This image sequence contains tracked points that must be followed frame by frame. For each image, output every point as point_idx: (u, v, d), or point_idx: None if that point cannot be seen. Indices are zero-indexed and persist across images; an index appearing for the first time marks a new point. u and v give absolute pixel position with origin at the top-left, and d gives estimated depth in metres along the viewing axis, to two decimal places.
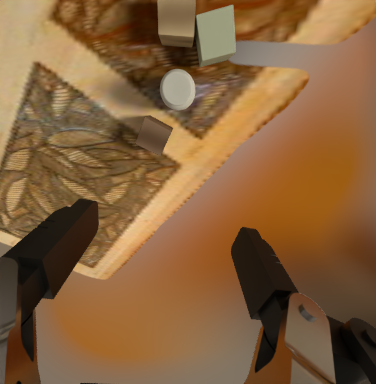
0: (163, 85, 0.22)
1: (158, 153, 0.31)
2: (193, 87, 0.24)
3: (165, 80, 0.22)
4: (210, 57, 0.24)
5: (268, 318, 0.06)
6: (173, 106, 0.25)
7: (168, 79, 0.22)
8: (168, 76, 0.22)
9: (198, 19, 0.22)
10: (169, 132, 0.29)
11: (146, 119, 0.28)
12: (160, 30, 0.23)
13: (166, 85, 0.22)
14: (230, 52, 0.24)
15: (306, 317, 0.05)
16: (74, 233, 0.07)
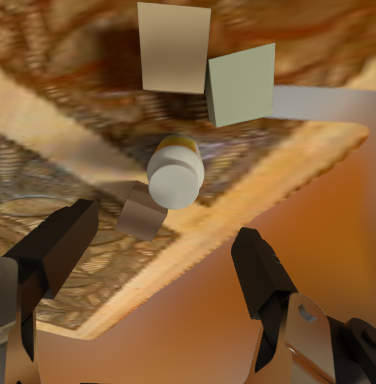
0: (150, 184, 0.13)
1: (148, 239, 0.22)
2: (201, 173, 0.15)
3: (153, 177, 0.12)
4: (229, 122, 0.15)
5: (268, 318, 0.06)
6: None
7: (159, 176, 0.12)
8: (158, 172, 0.12)
9: (212, 66, 0.13)
10: (164, 216, 0.20)
11: (129, 201, 0.19)
12: (146, 83, 0.13)
13: (155, 184, 0.13)
14: (263, 115, 0.15)
15: (306, 317, 0.05)
16: (74, 233, 0.07)
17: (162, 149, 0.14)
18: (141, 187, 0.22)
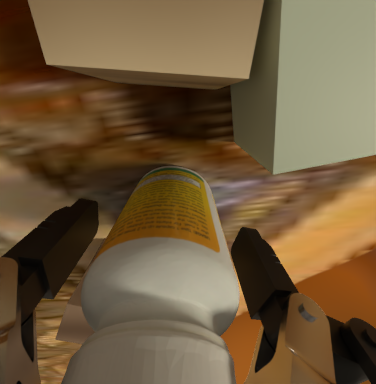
0: None
1: None
2: (235, 309, 0.05)
3: None
4: (311, 163, 0.05)
5: (267, 318, 0.06)
6: None
7: None
8: None
9: None
10: None
11: (73, 306, 0.09)
12: (53, 42, 0.04)
13: None
14: None
15: (306, 317, 0.05)
16: (73, 233, 0.07)
17: (117, 254, 0.05)
18: None
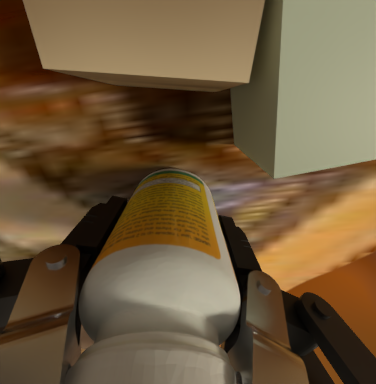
0: None
1: None
2: (236, 317, 0.05)
3: None
4: (312, 167, 0.05)
5: None
6: None
7: None
8: None
9: None
10: None
11: None
12: (50, 46, 0.04)
13: None
14: None
15: (260, 290, 0.06)
16: (112, 226, 0.07)
17: (116, 262, 0.04)
18: None
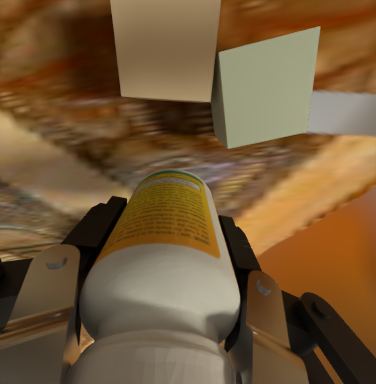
0: None
1: None
2: (235, 316, 0.05)
3: None
4: (246, 142, 0.11)
5: None
6: None
7: None
8: None
9: (224, 62, 0.09)
10: None
11: None
12: (126, 87, 0.09)
13: None
14: (294, 132, 0.10)
15: (260, 290, 0.06)
16: (112, 226, 0.07)
17: (116, 261, 0.04)
18: None
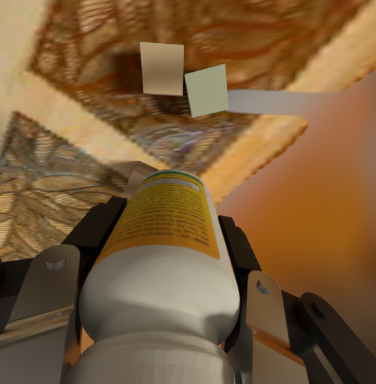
0: None
1: None
2: (235, 317, 0.05)
3: None
4: (201, 114, 0.23)
5: None
6: None
7: None
8: None
9: (187, 78, 0.21)
10: None
11: (134, 172, 0.26)
12: (145, 89, 0.21)
13: None
14: (222, 109, 0.22)
15: (260, 290, 0.06)
16: (112, 226, 0.07)
17: (116, 262, 0.04)
18: (142, 165, 0.30)
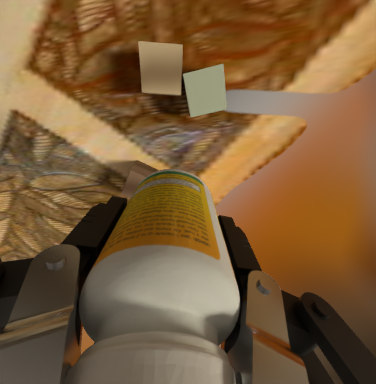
0: None
1: None
2: (235, 317, 0.05)
3: None
4: (199, 114, 0.23)
5: None
6: None
7: None
8: None
9: (185, 78, 0.20)
10: None
11: (132, 172, 0.26)
12: (144, 88, 0.21)
13: None
14: (221, 109, 0.22)
15: (260, 290, 0.06)
16: (112, 226, 0.07)
17: (116, 262, 0.04)
18: (140, 164, 0.29)
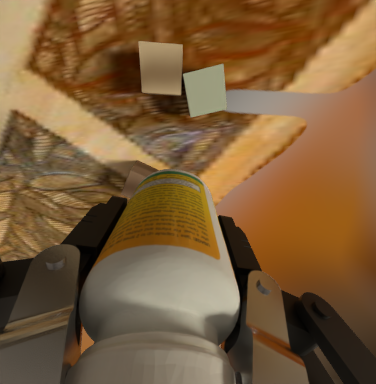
0: None
1: None
2: (235, 317, 0.05)
3: None
4: (199, 114, 0.23)
5: None
6: None
7: None
8: None
9: (185, 78, 0.20)
10: None
11: (132, 172, 0.26)
12: (144, 88, 0.21)
13: None
14: (221, 109, 0.22)
15: (260, 290, 0.06)
16: (112, 226, 0.07)
17: (116, 262, 0.04)
18: (140, 164, 0.29)
